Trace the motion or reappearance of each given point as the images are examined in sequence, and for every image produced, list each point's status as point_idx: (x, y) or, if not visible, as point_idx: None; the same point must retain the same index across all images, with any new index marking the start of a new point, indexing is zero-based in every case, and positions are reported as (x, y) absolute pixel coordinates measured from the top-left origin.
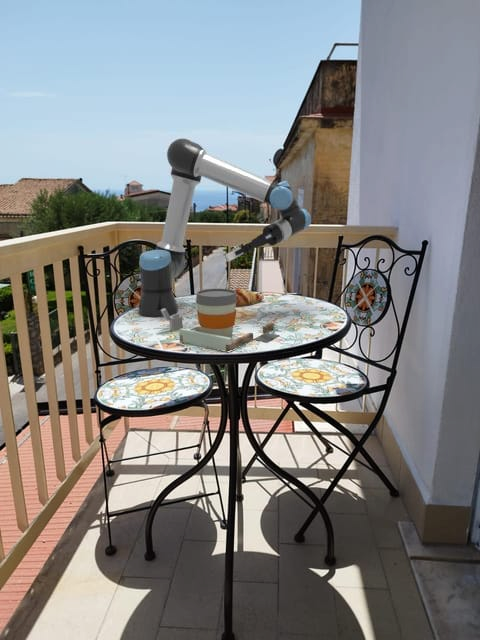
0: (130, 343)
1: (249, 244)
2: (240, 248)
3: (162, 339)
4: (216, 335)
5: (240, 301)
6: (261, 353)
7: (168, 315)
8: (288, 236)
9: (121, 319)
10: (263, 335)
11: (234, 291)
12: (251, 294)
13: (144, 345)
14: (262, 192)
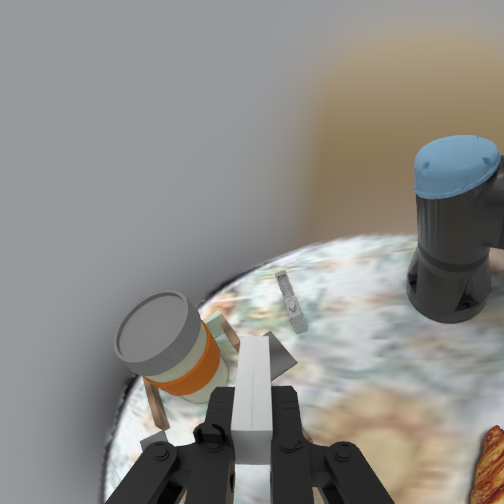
0: (259, 266)
1: (142, 468)
2: (233, 432)
3: (254, 301)
4: None
5: (472, 497)
6: (119, 408)
7: (280, 289)
8: None
9: (398, 238)
10: None
11: (128, 359)
12: None
13: (241, 281)
14: None
